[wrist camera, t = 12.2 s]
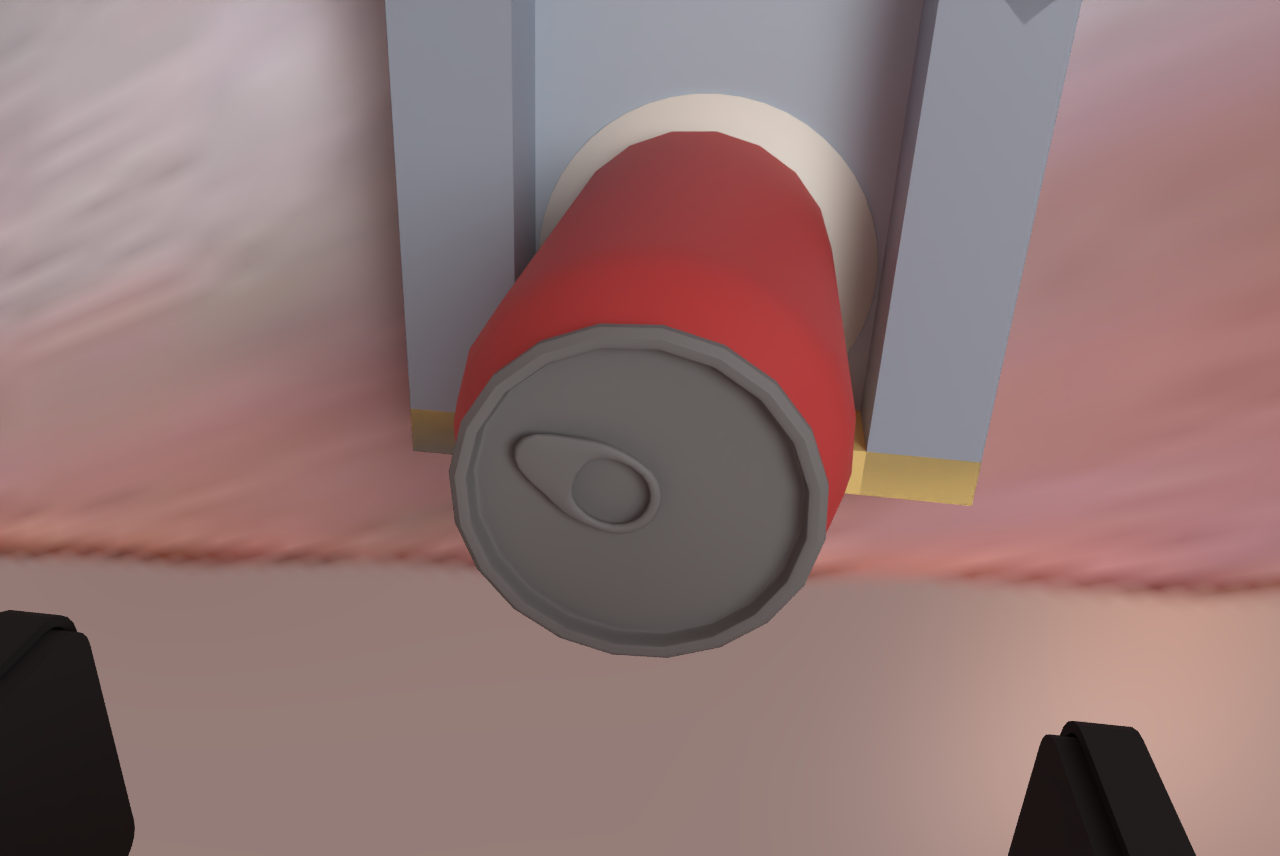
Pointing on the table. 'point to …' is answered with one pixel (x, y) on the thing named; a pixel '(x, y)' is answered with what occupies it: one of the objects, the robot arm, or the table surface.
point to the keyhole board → (785, 127)
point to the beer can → (661, 405)
